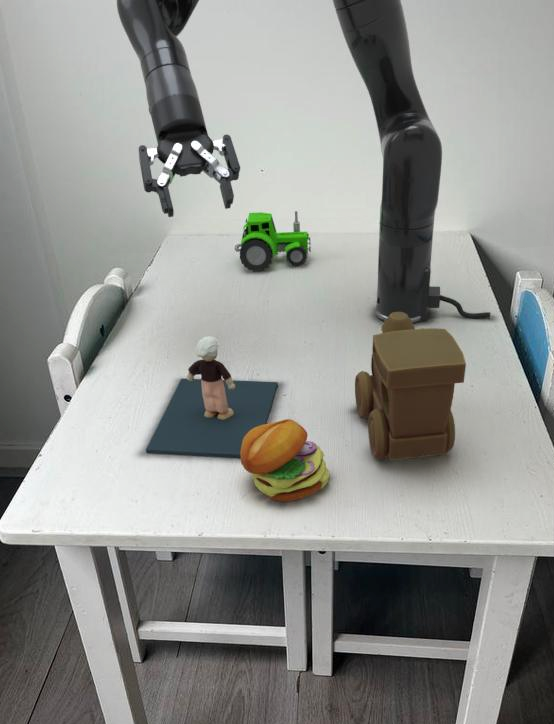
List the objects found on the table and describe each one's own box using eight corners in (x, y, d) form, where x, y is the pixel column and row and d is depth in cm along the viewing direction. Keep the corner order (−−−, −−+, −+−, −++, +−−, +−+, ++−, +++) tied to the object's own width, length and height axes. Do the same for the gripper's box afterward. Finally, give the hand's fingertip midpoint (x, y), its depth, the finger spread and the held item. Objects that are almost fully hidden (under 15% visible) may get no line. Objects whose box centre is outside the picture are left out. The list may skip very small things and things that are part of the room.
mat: (277, 385, 119) (277, 381, 119) (255, 458, 104) (255, 455, 103) (181, 381, 122) (181, 378, 121) (146, 453, 106) (145, 449, 106)
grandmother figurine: (242, 408, 113) (235, 332, 105) (236, 422, 110) (228, 345, 102) (194, 404, 115) (184, 330, 107) (187, 418, 112) (175, 342, 104)
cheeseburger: (325, 510, 94) (304, 447, 88) (248, 517, 98) (222, 458, 92) (336, 462, 102) (317, 401, 96) (264, 470, 105) (242, 412, 100)
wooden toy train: (460, 470, 100) (474, 361, 89) (376, 479, 99) (381, 370, 89) (422, 393, 115) (431, 292, 105) (350, 400, 115) (351, 300, 104)
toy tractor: (311, 270, 155) (310, 222, 149) (234, 273, 156) (229, 225, 150) (310, 250, 164) (309, 204, 158) (237, 253, 164) (233, 207, 158)
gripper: (126, 97, 105) (151, 204, 103) (224, 86, 107) (250, 189, 106) (128, 130, 112) (152, 229, 110) (220, 118, 115) (244, 215, 113)
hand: (200, 210), depth 108 cm, fingers open, 8 cm apart
